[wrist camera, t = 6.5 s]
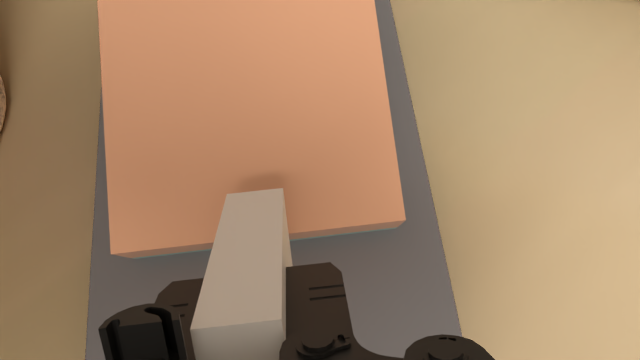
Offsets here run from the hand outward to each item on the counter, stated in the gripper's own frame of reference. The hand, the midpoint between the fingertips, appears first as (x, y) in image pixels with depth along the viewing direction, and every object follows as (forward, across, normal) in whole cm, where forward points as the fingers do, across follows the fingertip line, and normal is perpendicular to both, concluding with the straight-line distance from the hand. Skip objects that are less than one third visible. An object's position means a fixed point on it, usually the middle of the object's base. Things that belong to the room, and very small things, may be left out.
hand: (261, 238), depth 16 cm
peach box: (+3, 0, -1) cm, 3 cm away
